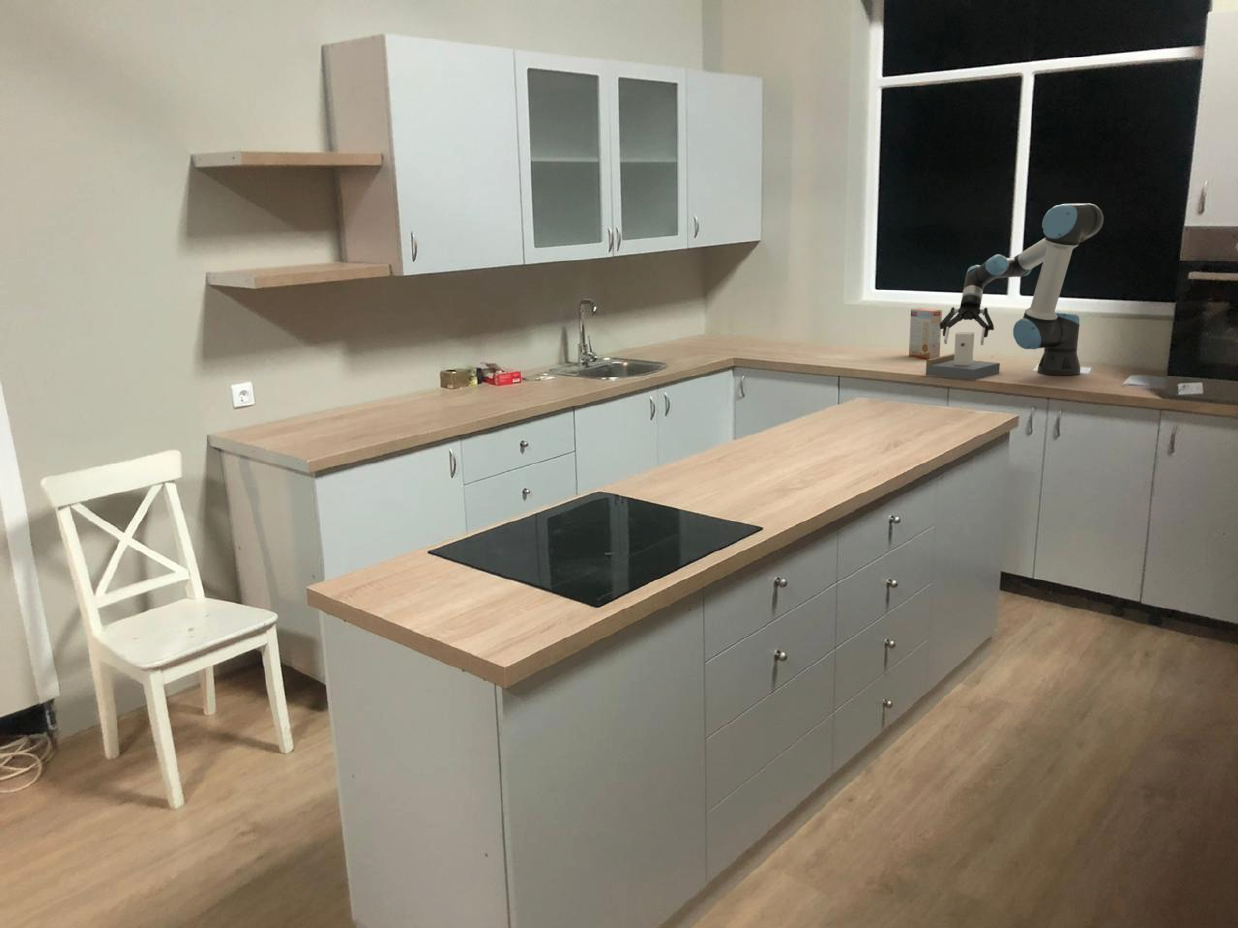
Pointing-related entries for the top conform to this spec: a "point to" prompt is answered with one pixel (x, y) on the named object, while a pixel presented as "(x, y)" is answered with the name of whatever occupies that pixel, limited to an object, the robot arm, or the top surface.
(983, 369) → the riser
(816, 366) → the top surface
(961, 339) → the cabinet block
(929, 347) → the cracker box
